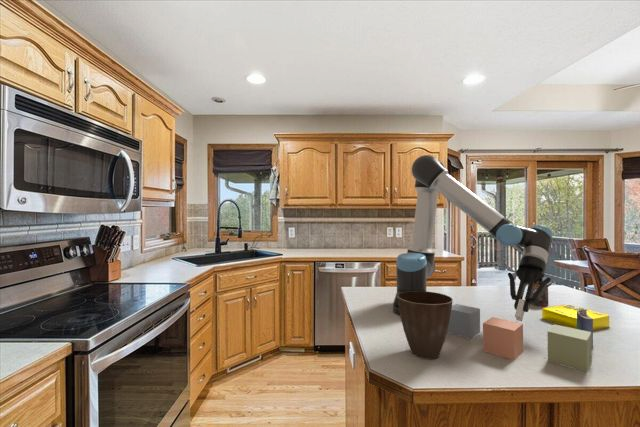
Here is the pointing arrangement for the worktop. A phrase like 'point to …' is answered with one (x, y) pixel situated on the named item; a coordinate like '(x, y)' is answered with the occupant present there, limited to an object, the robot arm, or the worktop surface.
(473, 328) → the slate block
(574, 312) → the element tile
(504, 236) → the robot arm
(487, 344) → the terracotta block
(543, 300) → the supplement bottle
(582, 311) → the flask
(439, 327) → the plant pot
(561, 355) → the olive block
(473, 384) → the worktop surface
